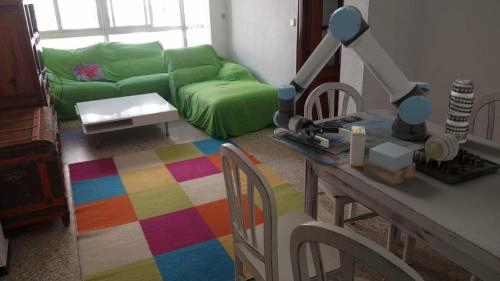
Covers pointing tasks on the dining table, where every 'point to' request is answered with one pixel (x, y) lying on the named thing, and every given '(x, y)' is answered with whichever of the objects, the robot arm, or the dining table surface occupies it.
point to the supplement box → (357, 146)
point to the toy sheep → (442, 146)
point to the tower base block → (388, 173)
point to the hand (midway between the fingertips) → (340, 139)
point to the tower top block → (391, 156)
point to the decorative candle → (460, 109)
